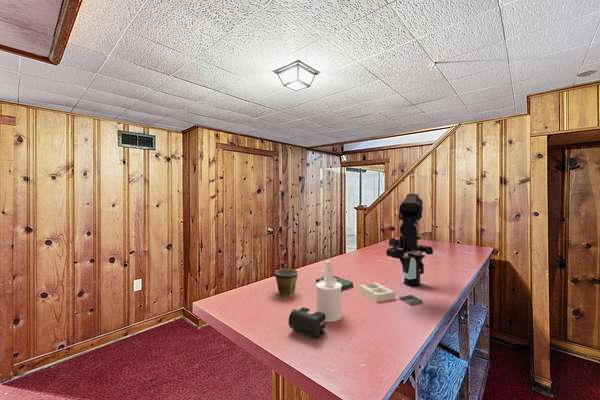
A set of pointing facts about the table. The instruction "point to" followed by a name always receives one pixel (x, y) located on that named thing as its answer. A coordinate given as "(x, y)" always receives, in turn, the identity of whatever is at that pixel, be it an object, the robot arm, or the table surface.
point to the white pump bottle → (329, 296)
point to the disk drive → (345, 283)
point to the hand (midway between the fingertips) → (409, 272)
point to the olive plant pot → (286, 281)
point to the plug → (411, 269)
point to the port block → (376, 292)
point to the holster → (410, 299)
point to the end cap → (307, 322)
